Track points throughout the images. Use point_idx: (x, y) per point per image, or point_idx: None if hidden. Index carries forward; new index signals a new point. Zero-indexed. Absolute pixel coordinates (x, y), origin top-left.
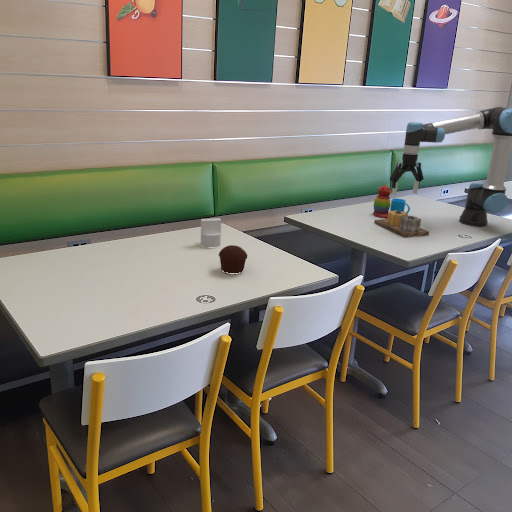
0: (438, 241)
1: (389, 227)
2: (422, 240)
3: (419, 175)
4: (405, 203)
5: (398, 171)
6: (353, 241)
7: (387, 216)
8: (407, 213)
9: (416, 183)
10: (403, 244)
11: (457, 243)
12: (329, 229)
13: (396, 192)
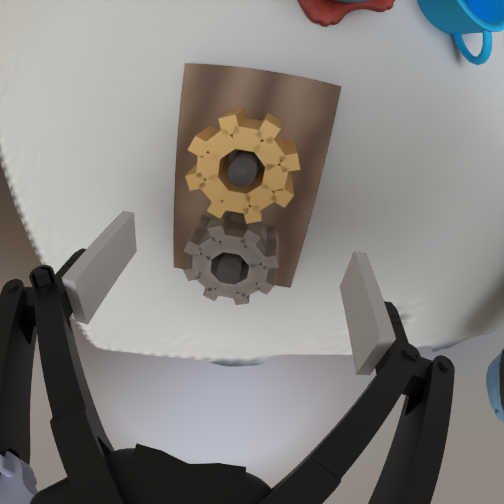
0: (265, 322)
1: (176, 180)
2: (221, 299)
3: (411, 414)
4: (485, 38)
5: (23, 415)
6: (27, 225)
7: (332, 21)
8: (288, 200)
9: (359, 344)
10: (137, 296)
11: (303, 347)
12: (6, 112)
13: (127, 262)
